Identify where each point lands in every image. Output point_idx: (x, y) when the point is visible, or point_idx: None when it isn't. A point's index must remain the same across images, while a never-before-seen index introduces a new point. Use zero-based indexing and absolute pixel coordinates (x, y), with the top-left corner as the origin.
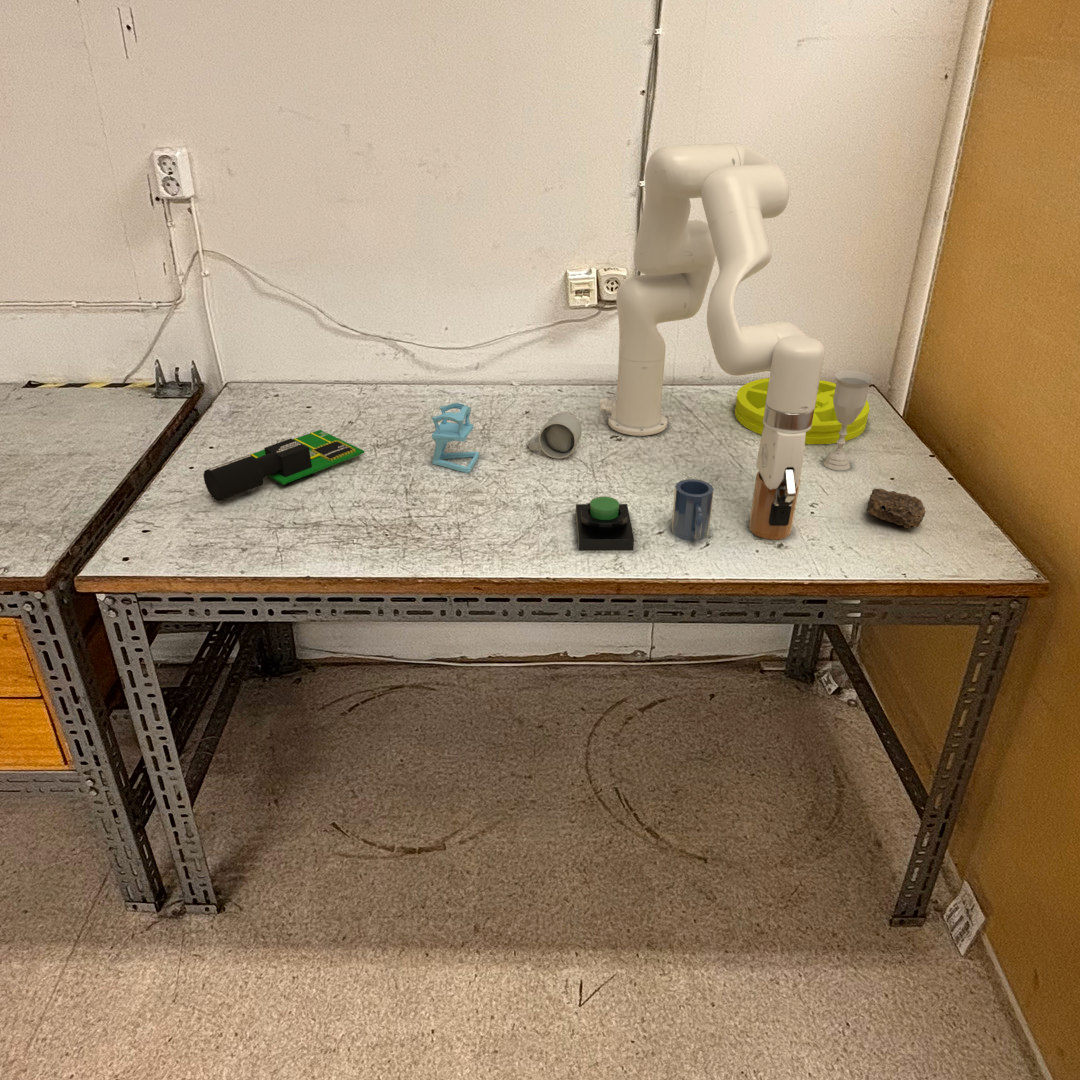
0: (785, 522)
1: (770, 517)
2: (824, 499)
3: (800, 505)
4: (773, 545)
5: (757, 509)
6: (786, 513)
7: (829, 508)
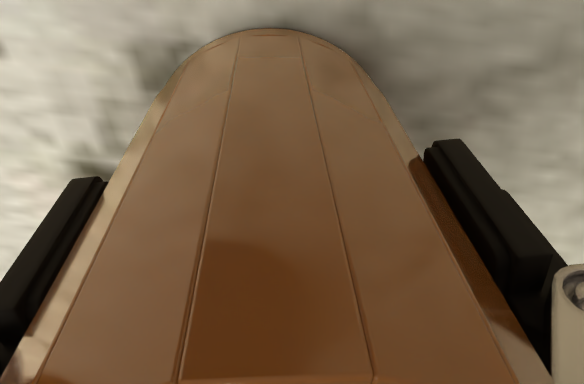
0: None
1: (46, 215)
2: None
3: None
4: (96, 146)
5: (159, 129)
6: None
7: None
